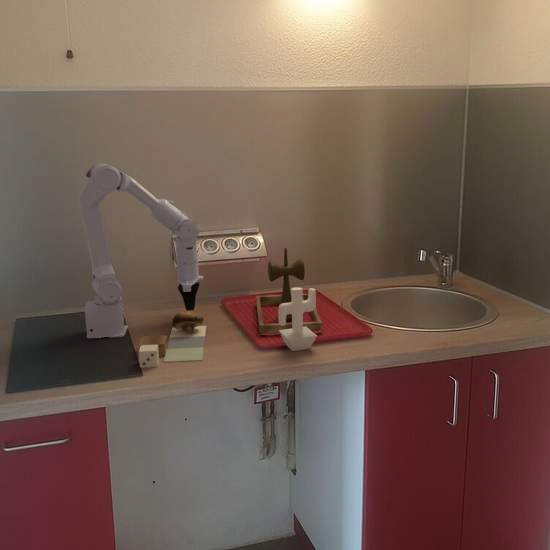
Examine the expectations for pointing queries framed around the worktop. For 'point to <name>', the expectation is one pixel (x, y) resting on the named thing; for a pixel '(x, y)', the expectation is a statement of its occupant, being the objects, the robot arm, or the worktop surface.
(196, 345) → the board
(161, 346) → the plinth
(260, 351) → the worktop surface
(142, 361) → the beige cube
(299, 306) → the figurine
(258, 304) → the brown rectangular frame
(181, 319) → the mushroom
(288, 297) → the kendama
